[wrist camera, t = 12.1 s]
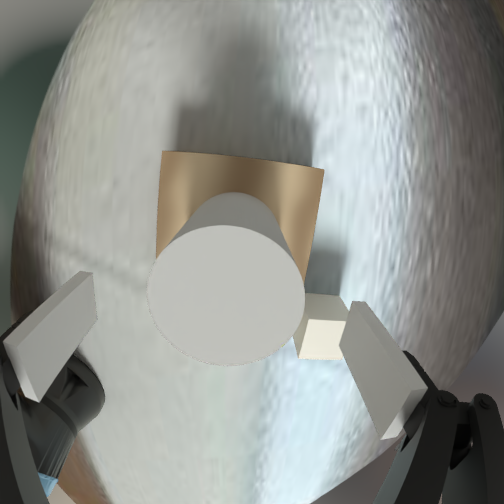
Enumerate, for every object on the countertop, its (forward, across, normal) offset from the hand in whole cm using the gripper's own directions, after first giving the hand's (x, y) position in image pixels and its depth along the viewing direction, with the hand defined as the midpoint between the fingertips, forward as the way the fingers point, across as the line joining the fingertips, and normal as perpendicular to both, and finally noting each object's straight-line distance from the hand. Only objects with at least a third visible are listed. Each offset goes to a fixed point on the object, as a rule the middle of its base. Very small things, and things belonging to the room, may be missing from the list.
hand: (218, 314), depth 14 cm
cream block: (+18, +11, -9) cm, 23 cm away
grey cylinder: (+13, 0, 0) cm, 13 cm away
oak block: (+18, 0, 0) cm, 18 cm away
